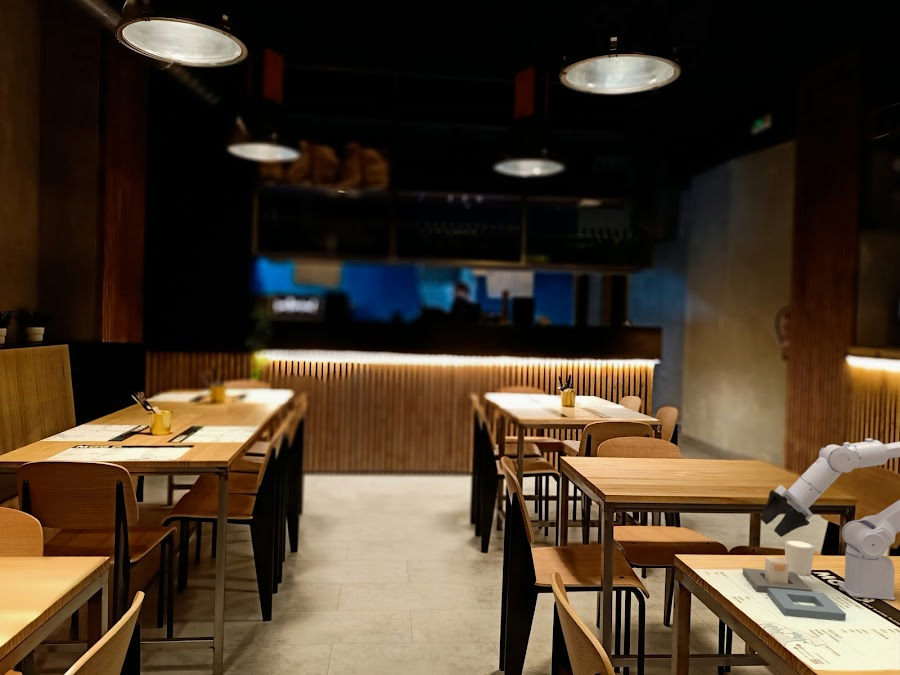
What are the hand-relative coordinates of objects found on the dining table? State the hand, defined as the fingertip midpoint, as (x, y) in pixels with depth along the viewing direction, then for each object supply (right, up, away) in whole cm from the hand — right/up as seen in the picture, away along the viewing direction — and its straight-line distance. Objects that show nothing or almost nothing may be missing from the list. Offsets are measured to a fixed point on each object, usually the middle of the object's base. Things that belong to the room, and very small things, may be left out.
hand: (770, 527), depth 162 cm
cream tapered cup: (+12, -14, +10) cm, 21 cm away
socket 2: (+1, -14, -13) cm, 19 cm away
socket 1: (+1, -13, 0) cm, 14 cm away
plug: (+1, -14, 0) cm, 14 cm away
